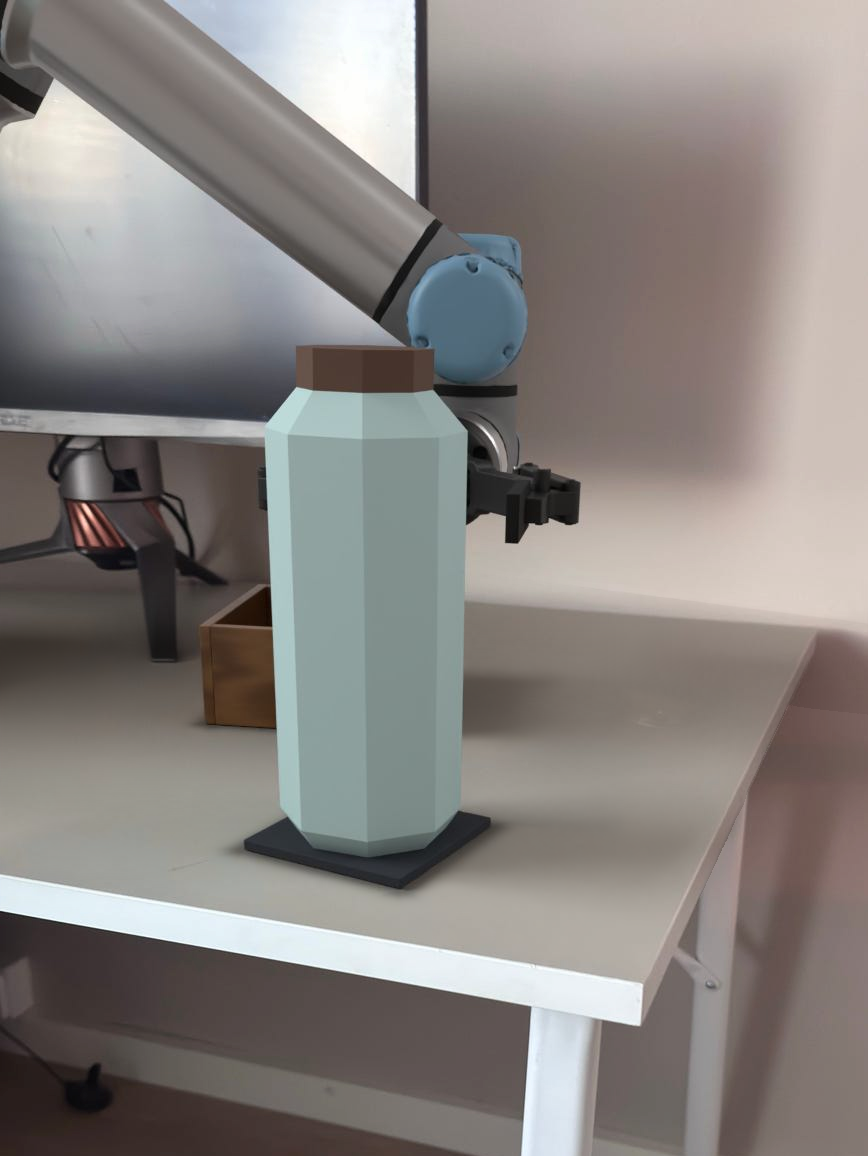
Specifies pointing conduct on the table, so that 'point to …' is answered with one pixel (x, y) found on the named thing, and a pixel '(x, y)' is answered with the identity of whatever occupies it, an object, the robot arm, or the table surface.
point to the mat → (379, 869)
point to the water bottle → (367, 598)
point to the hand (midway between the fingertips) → (392, 513)
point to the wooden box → (240, 662)
